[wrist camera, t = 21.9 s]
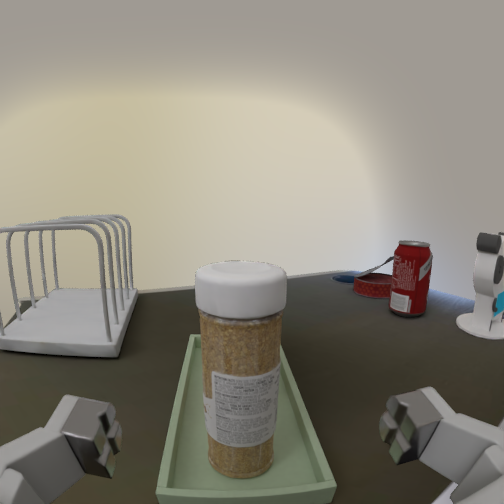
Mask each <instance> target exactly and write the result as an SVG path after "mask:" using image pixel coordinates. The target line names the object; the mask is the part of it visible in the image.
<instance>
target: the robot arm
mask: <svg viewBox="0 0 504 504" xmlns="http://www.w3.org/2000/svg"><path fill="white" fill-rule="evenodd" d="M386 407H387V409H388V410H387V411H386V412H385V413H384V414H383V415H382V416H381V419H380V422H379V432H380V436H381V438H382V440H383V442H385V443H387V444H389V445H390V449H389V452H390V454H391V456H392V458H393V459H394V461H395V463H396V465H399V464H403V463H406V462H410V461H413V460H416V459H419V460H420V461H421V462H423V463H424V464H426V465H427V466H429V467H431V468H432V469H434V470H435V471H437V472H439V473H440V474H442V475H443V476H445V477H447V478H448V479H450V480H452V481H453V482H455V483H457V484H458V486H457V487H456V489H455V490H454V491H453V492H452V493H451V496H450V499H451V500H452V502H453V504H504V429H501V428H498V427H496V426H493V425H490V424H487V423H485V422H482V421H479V420H476V419H474V418H471V417H469V416H466V415H463V414H461V413H458V414H456V413H455V412H454V411H453V410H452V409H451V407H450V406H449V405H448V404H447V403H446V402H445V401H444V399H443V398H442V397H441V396H440V395H439V394H438V393H437V391H436V390H435V389H434V388H432V387H430V386H429V387H425V388H421V389H417V390H414V391H409V392H405V393H401V394H396V395H392V396H390V397H389V399H388V400H387V403H386ZM115 415H116V410H115V407H114V405H113V404H112V403H108V402H102V401H97V400H92V399H87V398H82V397H76V396H72V395H68V394H67V395H65V396H64V397H63V398H62V400H61V401H60V403H59V405H58V406H57V408H56V409H55V411H54V413H53V414H52V416H51V418H50V419H49V421H48V423H47V424H46V426H45V428H41V427H40V428H38V429H36V430H34V431H32V432H30V433H28V434H26V435H24V436H22V437H20V438H18V439H16V440H14V441H11V442H9V443H7V444H5V445H3V446H1V447H0V504H50V503H51V502H52V501H54V500H55V499H56V498H58V497H59V496H60V495H61V494H63V493H64V492H65V491H66V490H68V489H69V488H70V487H71V486H72V485H74V484H75V483H76V482H77V481H79V480H80V479H81V478H82V477H83V476H85V473H86V474H91V475H96V476H101V477H106V478H111V479H112V475H113V472H114V469H115V465H116V460H115V458H114V455H115V454H117V453H118V452H120V449H121V445H122V429H121V426H120V423H119V422H118V421H117V420H116V419H115Z"/></svg>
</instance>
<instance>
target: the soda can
mask: <svg viewBox="0 0 504 504" xmlns="http://www.w3.org/2000/svg"><path fill="white" fill-rule="evenodd" d="M429 246H430V244H429V243H425V242H418V241H399V246H398V247H397V249H396V250H395V252H394V263H393V274H392V283H391V291H390V299H389V309H390V310H391V311H393V312H394V313H395V314H396V315H399V316H403V317H417V316H419V315H421V314H423V313H424V312H425V310H426V304H427V297H428V290H429V283H430V275H431V267H432V257H433V256H432V253H431V251H430V249H429Z"/></svg>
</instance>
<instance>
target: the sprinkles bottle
mask: <svg viewBox="0 0 504 504" xmlns="http://www.w3.org/2000/svg"><path fill="white" fill-rule="evenodd" d="M286 292H287V275H286V272H285V271H284V269H282V268H281V267H279V266H276V265H273V264H269V263H263V262H254V261H226V262H217V263H211V264H208V265H205V266H202V267H200V268H199V269H198V270H197V271H196V275H195V294H196V305H197V307H198V308H199V310H198V311H199V315H200V325H201V326H200V328H201V351H202V354H201V355H202V382H203V401H204V415H205V426H206V429H207V434H208V445H209V449H208V459H209V463H210V464H211V465H212V467H213V468H214V469H215V470H216V471H218V472H219V473H221V474H223V475H225V476H228V477H230V478H241V479H244V478H252V477H257V476H259V475H261V474H262V473H264V472H265V471H266V470H268V469H269V467H270V466H271V465H272V463H273V460H274V450H273V437H274V432H275V429H276V420H277V406H278V392H279V378H280V365H281V357H280V343H281V342H280V340H281V322H282V320H281V318H282V316H283V308H284V307H285V305H286Z"/></svg>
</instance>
